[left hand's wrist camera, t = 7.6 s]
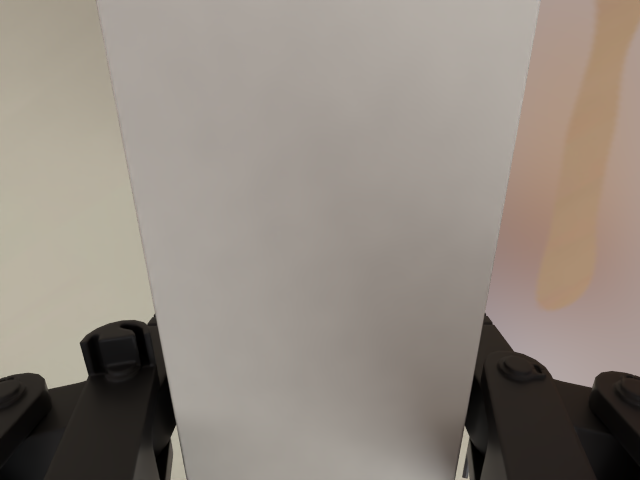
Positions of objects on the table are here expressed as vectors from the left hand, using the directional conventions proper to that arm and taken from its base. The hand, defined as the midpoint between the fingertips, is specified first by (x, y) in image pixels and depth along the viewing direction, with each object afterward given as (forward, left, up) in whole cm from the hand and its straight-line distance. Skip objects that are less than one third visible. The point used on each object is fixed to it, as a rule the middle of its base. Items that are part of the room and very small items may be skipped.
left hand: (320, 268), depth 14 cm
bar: (+18, -4, -1) cm, 19 cm away
